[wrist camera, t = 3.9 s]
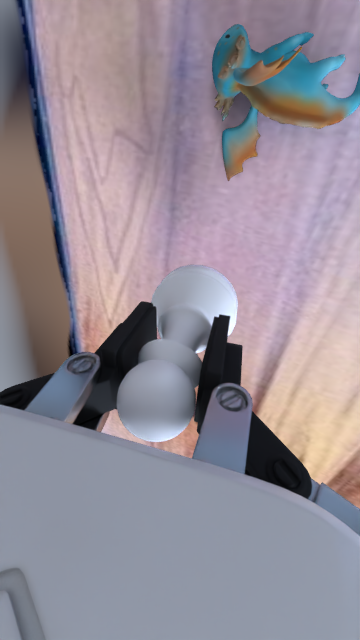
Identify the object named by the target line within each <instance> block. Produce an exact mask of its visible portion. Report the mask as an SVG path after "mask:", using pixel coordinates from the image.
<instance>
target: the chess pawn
mask: <svg viewBox="0 0 360 640" xmlns="http://www.w3.org/2000/svg"><path fill="white" fill-rule="evenodd" d="M151 303H153V306H156V310H157V327H158V332H159V335H160V337H161V339H158V340H153V341H151V342H148V343H147V344H145V345H144V346H143V347H142V348H141V350H140V352H139V355H138V365H137V366H135V367H134V368H133V369H131V370H130V371H129V372H128V373H127V374H126V376H125V377H124V379H123V381H122V382H121V384H120V386H119V389H118V394H117V410H118V414H119V417H120V420H121V421H122V423H123V425H124V426H125V427H126V428H127V430H128V431H129V432H130V433H132V434H133V435H134V436H136V437H138V438H140V439H143V440H146V441H150V442H161V441H166V440H169V439H172V438H174V437H176V436H177V435H179V434H180V433H181V432H182V431H183V430H184V429H185V428H186V427H187V426H188V424H189V422H190V420H191V418H192V416H193V414H194V411H195V405H196V393H195V389H194V388H196V387H197V386H198V385H199V378H200V371H201V367H202V361H201V360H200V358H199V357H198V355H197V354H196V353H199V352H202V351H203V350H205V349H206V347H207V343H208V339H209V335H210V331H211V327H212V324H213V320H214V316H215V317H219V314H221V315H227V316H230V323H229V330H228V336H229V335H230V334H231V333H232V331H233V328H234V326H235V324H236V316H237V306H238V301H237V296H236V292H235V290H234V288H233V286H232V284H231V283H230V282H229V281H228V280H227V279H226V277H225V276H224V275H222V274H221V273H219V272H218V271H216V270H215V269H212V268H209V267H206V266H203V265H187V266H182V267H179V268H177V269H175V270H174V271H172V272H170V273H169V274H168V275H167V276H166V277H165V278H164V279H163V281H162V282H161V284H160V285H159V286H158V287H157V288H156V290H155V292H154V294H153V296H152V302H151Z"/></svg>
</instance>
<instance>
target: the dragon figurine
mask: <svg viewBox="0 0 360 640" xmlns="http://www.w3.org/2000/svg"><path fill="white" fill-rule="evenodd" d="M313 36H314V34H312V33H309V32H305V33H302V34H297V35H295V36H292V37H290V38H288V39H286V40H284V41H283V42H281V43H278V44H276V45H273V46H271V47H270V48H268V49H266V50H265V51H264V52H262V53H258V52H256V51H254V50H252V49H251V48H250V45H249V40H248V35H247V32H246V30H245V29H244V27H243V26H242V25H240V24H235V25H233V26H232V27H231V28H229V29H228V30H227V31H226V32H225V33H224V34H223V36H222V37H221V38H220V39H219V41H218V43H217V45H216V47H215V50H214V54H213V60H212V72H213V79H214V84H215V87H216V89H217V92H218V96H217V97H216V98H215V100H216V101H218V102H217V103H216V105H215V108H217V110H220V109H221V108H222V106H224V107H223V110H222V113H221V115H222V114H223V113H224V115H223V117H222V118H223V119H222V121H223V120H224V119H225V118H226V117H227V116H228V112H229V109H230V107H231V106H232V104H233V102H234V97H235V96H236V95H237V94H238V93H240V92H242V93H243V94H244V95H245V96H246V97H247V98H248V99H249V101H250V102H251V107H250V110H249V113H248V115H247V117H246V119H245V120H244V122H243V123H242V124H240V125H239V126H237V127H234V128H228V129H225V130H224V131H223V134H222V148H223V159H224V166H225V171H226V175H227V179H228V181H229V180H230V178H231V177H232V176H234V175H236V174H238V173H240V172H243V168H242V164H243V162H244V161H245V160H246V159H248V158H251V157H256V156H257V153H256V149H255V147H256V142H257V140H258V138H259V137H260V134H259V133H258V130H257V114H258V111H259V112H260V113H262V114H263V115H264V116H266V117H269V118H270V119H272V120H276V121H278V122H279V123H282V124H285V123H286V124H292V125H296V126H301V127H313V128H317V129H321V128H323V127H325V126H328V125H332V124H335V123H338V122H340V121H342V120H343V119H344V118H346V117H347V116H349V115H350V114H352V113H353V112H354V111H355V110H356V109H357V108H358V106H359V105H360V74H359V78H358V82H357V85H356V88H355V90H354V92H353V94H352V95H351V96H349V97H347V98H337V97H335V96H333V95H331V94H330V93H329V92H327V91H326V89H327V87H328V84H323V85H322V84H321V81H322V80H323V79H324V77H325V76H326V75H327V74H328V73H329V72H331V71H333V70H336V69H338V68H339V67H340V66H341V65H342V63H343V62H344V61H345V59H346V58H345V57H344V56H345V54H343V55H339V56H337V57H329V58H326V59H323V60H320V61H318V62H315V63H310V62H309V60H308V59H307V57H306V56H305V55H304V54H302V53H301V52H300V50H301V49H302V47H300V48H299V49H298V50H297V51H293V50H294V49H295V48H297V47H298V46H299V45H301V46H302V45H303V44H305V43H307V42H308V41H309V40H310V38H312V37H313Z"/></svg>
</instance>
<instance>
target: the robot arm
mask: <svg viewBox="0 0 360 640" xmlns="http://www.w3.org/2000/svg"><path fill="white" fill-rule="evenodd" d="M229 323H230V316H227V315H221V314H219V317H215V316H214V320H213V324H212V327H211V331H210V335H209V339H208V343H207V347H206V351H205V355H204V359H203V362H202V367H201V371H200V378H199V386H198V394H197V402H196V410H195V418H194V421H195V422H198V426H197V432H198V433H199V437H198V440H197V444H196V447H195V450H194V453H193V457H192V458H188V457H185V456H181V455H178V454H174V453H171V452H168V451H164V450H161V449H157V448H154V447H150V446H147V445H143V444H140V443H136V442H133V441H129V440H126V439H122V438H119V437H115V436H112V435H108V434H105V433H101V431H102V429H103V427H104V424H105V422H106V420H107V418H108V416H109V412H110V411H111V410H113V409H117V394H118V389H119V386H120V384H121V382H122V381H123V379H124V377H125V376H126V374H127V373H128V372H129V371H130V370H131V369H133V368H134V367H135V366H137V365H138V355H139V352H140V350H141V348H142V347H143V346H144V345H145V344H147V343H148V342H151V341H153V340H157V310H156V306H153V303H149V302H143V301H141V302H140V303H139V305H138V306H137V307H136V308H135V309H134V311H133V312H132V313H131V314H130V315H129V316H128V318H127V319H126V320H125V321H124V322H123V323H121V324H119V325H118V326H117V328H116V329H115V330H114V331H113V332H112V333H111V335H110V336H109V337H108V338H107V339H106V340H105V342H104V343H103V344H102V345H101V346H100V347H99V349H98V350H97V351H96V352H95V353H91V352H82V353H78V354H75V355H73V356H71V357H69V358H68V359H67V360H66V361H65V362H64V363H63V364H62V365H61V367H60V368H59V369H58V370H57V372H56V373H53V374H50V375H47V376H43V377H40V378H37V379H34V380H30V381H27V382H24V383H21V384H18V385H15V386H12V387H10V388H7V389H5V390H4V391H2V392H0V640H360V509H359V508H357V507H356V506H354V505H353V504H352V503H350V502H349V501H348V500H346V499H345V498H343V497H342V496H341V495H339V494H338V493H336V492H335V491H334V490H332V489H331V488H329V487H328V486H327V485H325V484H324V483H321V484H318V483H317V482H315V481H314V480H313V479H311V477H310V475H309V473H308V471H307V469H306V468H305V467H304V465H303V464H302V463H301V462H300V461H299V460H298V459H297V457H296V456H295V455H294V454H293V453H292V452H291V451H290V450H289V449H288V448H287V447H286V446H285V445H284V444H283V443H282V442H281V441H280V440H279V439H278V438H277V437H276V436H275V434H274V433H273V432H272V431H271V430H270V429H269V428H268V427H267V426H266V425H265V424H264V423H263V422H262V421H261V420H260V419H259V418H258V417H257V416H256V415H255V414H254V412H253V411H252V405H253V404H252V398H251V396H250V394H249V393H248V392H247V390H246V389H244V388H243V387H241V386H240V384H241V365H242V345H237V344H232V343H227V337H228V330H229Z"/></svg>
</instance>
